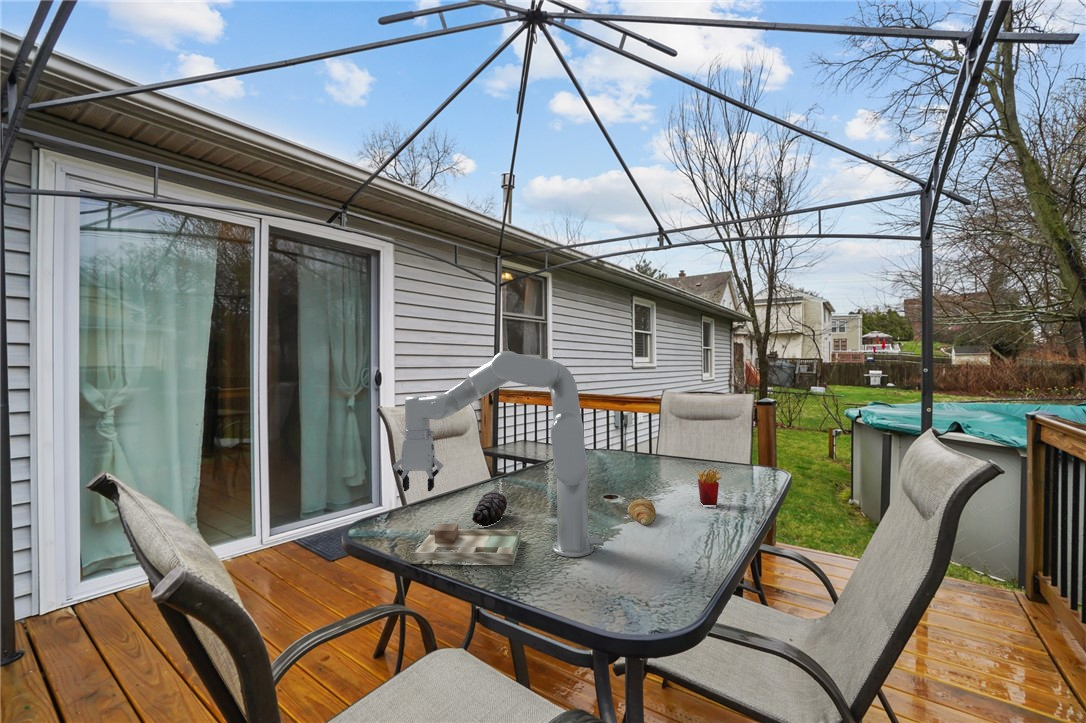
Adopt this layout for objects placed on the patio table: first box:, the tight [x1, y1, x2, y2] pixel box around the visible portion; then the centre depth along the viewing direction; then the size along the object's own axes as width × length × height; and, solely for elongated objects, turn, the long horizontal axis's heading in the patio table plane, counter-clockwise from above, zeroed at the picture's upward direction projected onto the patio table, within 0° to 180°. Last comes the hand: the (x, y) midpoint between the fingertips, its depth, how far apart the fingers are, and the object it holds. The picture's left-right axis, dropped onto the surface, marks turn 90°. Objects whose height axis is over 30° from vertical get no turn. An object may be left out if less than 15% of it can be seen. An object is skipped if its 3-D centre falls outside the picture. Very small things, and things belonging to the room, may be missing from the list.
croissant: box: [627, 497, 657, 526], centre depth 178 cm, size 21×10×8 cm, turn 177°
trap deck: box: [409, 528, 522, 566], centre depth 148 cm, size 30×19×4 cm, turn 86°
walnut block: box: [435, 523, 459, 544], centre depth 153 cm, size 6×6×4 cm
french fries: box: [697, 468, 722, 506], centre depth 189 cm, size 9×8×15 cm
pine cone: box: [471, 490, 508, 526], centre depth 175 cm, size 10×18×10 cm, turn 170°
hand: (418, 489), depth 153 cm, fingers open, 7 cm apart
